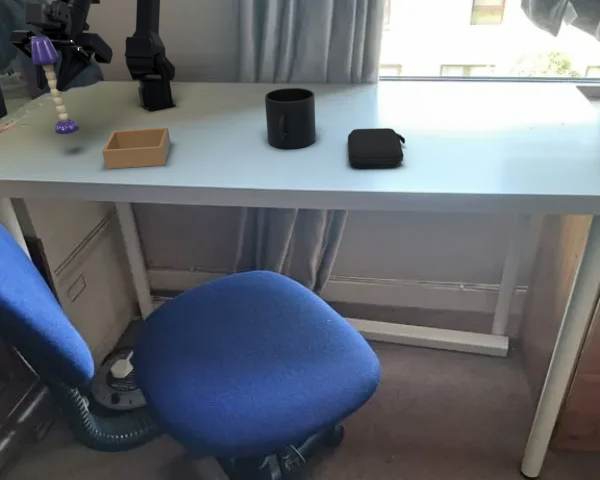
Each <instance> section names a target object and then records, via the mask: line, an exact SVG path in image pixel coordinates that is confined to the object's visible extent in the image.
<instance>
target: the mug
mask: <svg viewBox="0 0 600 480" xmlns="http://www.w3.org/2000/svg"><path fill="white" fill-rule="evenodd" d="M315 99H316V98H315V92H313V91H312V90H311V89H307V88H302V87H301V88H300V87H285V88H278V89H274V90H271V91H269V92H267V93H266V94H265V95H264V104H265V105H264V107H265V119H266V133H267V141H268V144H269V145H270V146H272V147H274V148H278V149H284V150H285V149H286V150H291V149H292V150H293V149H301V148H305V147H309V146H311V145H312V144H314V143H315V141H316V137H317V136H316V134H317V133H316V103H315V102H316V101H315Z"/></svg>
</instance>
